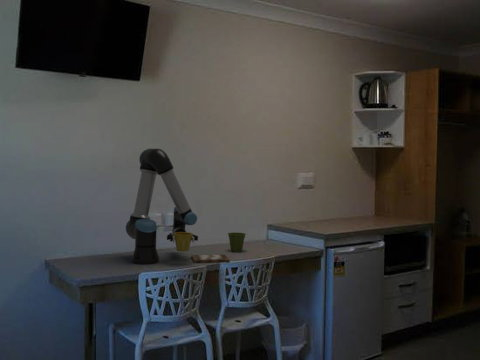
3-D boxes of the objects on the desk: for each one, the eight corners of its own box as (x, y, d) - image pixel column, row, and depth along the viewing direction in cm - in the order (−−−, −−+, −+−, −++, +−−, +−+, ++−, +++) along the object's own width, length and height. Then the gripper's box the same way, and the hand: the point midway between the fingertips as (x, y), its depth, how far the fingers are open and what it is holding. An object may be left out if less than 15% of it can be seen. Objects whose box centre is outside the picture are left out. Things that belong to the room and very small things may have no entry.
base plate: (194, 263, 286) (194, 260, 286) (191, 257, 302) (191, 254, 302) (229, 262, 291) (229, 259, 290) (224, 256, 306) (224, 254, 306)
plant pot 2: (249, 251, 327) (249, 233, 326) (236, 253, 319) (236, 235, 318) (236, 248, 335) (237, 231, 335) (223, 250, 327) (223, 233, 327)
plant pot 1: (169, 250, 283) (170, 233, 282) (180, 248, 292) (180, 231, 292) (184, 252, 278) (185, 235, 278) (195, 250, 287) (196, 233, 287)
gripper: (199, 241, 305) (203, 247, 283) (160, 240, 300) (162, 246, 278) (199, 228, 304) (204, 233, 283) (161, 227, 300) (163, 232, 278)
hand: (183, 240), depth 281 cm, fingers closed on plant pot 1, 10 cm apart
